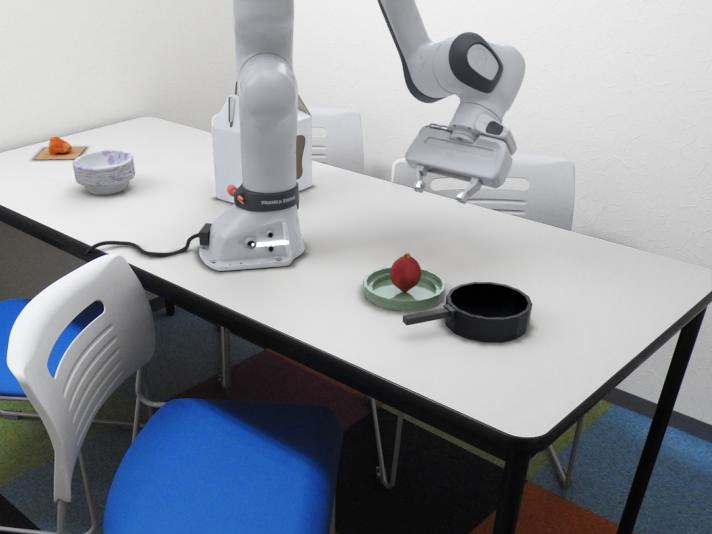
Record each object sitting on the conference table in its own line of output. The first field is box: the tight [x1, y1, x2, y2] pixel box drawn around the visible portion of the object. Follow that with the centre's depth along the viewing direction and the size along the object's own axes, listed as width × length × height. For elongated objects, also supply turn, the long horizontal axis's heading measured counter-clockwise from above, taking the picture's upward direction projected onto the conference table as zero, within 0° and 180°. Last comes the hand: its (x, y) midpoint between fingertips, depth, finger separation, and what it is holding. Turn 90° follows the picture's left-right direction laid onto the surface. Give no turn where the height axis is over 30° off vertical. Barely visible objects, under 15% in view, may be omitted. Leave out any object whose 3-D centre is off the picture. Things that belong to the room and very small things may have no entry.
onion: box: [390, 252, 422, 292], centre depth 145 cm, size 6×6×8 cm
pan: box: [402, 281, 533, 344], centre depth 135 cm, size 23×14×4 cm, turn 109°
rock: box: [34, 136, 86, 161], centre depth 226 cm, size 12×12×4 cm
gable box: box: [210, 81, 313, 204], centre depth 188 cm, size 22×13×28 cm, turn 139°
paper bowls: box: [72, 149, 136, 196], centre depth 198 cm, size 15×15×8 cm
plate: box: [362, 265, 447, 311], centre depth 147 cm, size 15×15×2 cm
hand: (438, 196), depth 144 cm, fingers open, 8 cm apart
